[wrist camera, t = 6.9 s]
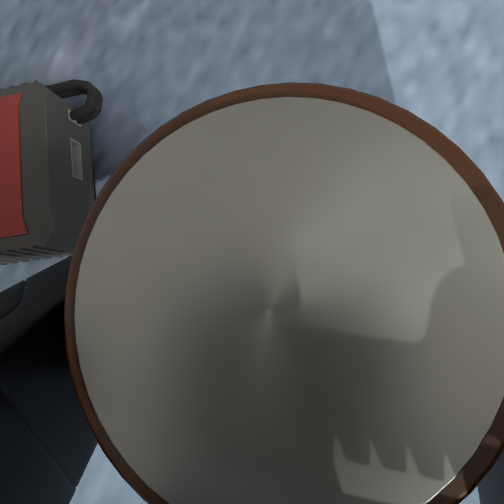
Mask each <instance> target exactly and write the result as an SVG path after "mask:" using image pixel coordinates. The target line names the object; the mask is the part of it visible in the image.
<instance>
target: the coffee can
mask: <svg viewBox="0 0 504 504" xmlns="http://www.w3.org/2000/svg"><path fill="white" fill-rule="evenodd" d="M64 329H65V346H66V352H67V358H68V364H69V370H70V375H71V378H72V381H73V385H74V388H75V392H76V395H77V399H78V402H79V404H80V406H81V409H82V411H83V413H84V416H85V418H86V421H87V423H88V425H89V428H90V429H91V431H92V433H93V435H94V436H95V438H96V440H97V442H98V443H99V445H100V447H101V449H102V450H103V452H104V454H105V455H106V456H107V458H108V459H109V460H110V462H111V463H112V464H113V466H114V467H115V468H116V470H117V471H118V473H119V474H120V475H121V477H122V478H123V479H124V480H125V481H126V482H127V483H128V484H129V485H130V486H131V487H132V488H133V489H134V490H135V491H136V492H137V493H138V494H139V496H140V497H141V498H142V499H143V500H145V501H146V502H147V503H148V504H459V503H460V502H461V501H462V500H463V499H465V498H466V497H467V496H468V495H469V494H470V493H471V492H472V491H473V490H474V489H475V487H476V486H477V485H478V484H479V483H480V481H481V480H482V479H483V478H484V477H485V475H486V474H487V473H488V472H489V471H490V469H491V468H492V467H493V466H494V464H495V462H496V461H497V459H498V457H499V456H500V454H501V453H502V451H503V449H504V203H503V201H502V199H501V198H500V196H499V195H498V194H497V192H496V191H495V189H494V188H493V186H492V185H491V184H490V182H489V181H488V179H487V178H486V176H485V175H484V174H483V172H482V171H481V170H480V169H479V168H478V167H477V166H476V165H475V164H474V163H473V161H472V160H471V159H470V158H469V157H468V156H467V155H466V154H465V153H464V152H463V151H462V150H461V149H460V148H459V147H458V146H457V145H456V144H454V143H453V142H452V141H451V140H450V139H448V138H447V137H446V136H445V135H444V134H442V133H441V132H440V131H439V130H438V129H436V128H435V127H433V126H432V125H430V124H429V123H427V122H425V121H424V120H422V119H421V118H419V117H417V116H416V115H414V114H413V113H411V112H409V111H408V110H405V109H403V108H401V107H399V106H397V105H394V104H392V103H390V102H388V101H386V100H383V99H381V98H379V97H375V96H372V95H369V94H366V93H362V92H359V91H356V90H352V89H348V88H342V87H336V86H331V85H325V84H313V83H281V84H269V85H260V86H256V87H251V88H246V89H241V90H237V91H233V92H230V93H227V94H224V95H221V96H218V97H216V98H213V99H210V100H207V101H205V102H203V103H201V104H199V105H197V106H195V107H193V108H191V109H189V110H187V111H185V112H183V113H181V114H179V115H178V116H176V117H175V118H173V119H172V120H170V121H169V122H167V123H166V124H164V125H162V126H161V127H159V128H158V129H157V130H156V131H155V132H153V133H152V134H151V135H150V136H149V137H147V138H146V139H145V140H144V141H143V142H141V143H140V144H139V145H138V146H137V147H136V148H135V149H134V150H133V151H132V152H131V153H130V154H129V155H128V156H127V157H126V159H125V160H124V161H123V162H122V163H121V164H120V165H119V166H118V168H117V169H116V170H115V172H114V173H113V174H112V176H111V177H110V178H109V180H108V181H107V182H106V184H105V185H104V186H103V188H102V190H101V191H100V193H99V195H98V197H97V198H96V200H95V202H94V203H93V205H92V207H91V209H90V210H89V213H88V215H87V217H86V220H85V222H84V224H83V226H82V229H81V231H80V233H79V236H78V239H77V242H76V246H75V249H74V252H73V256H72V259H71V263H70V268H69V274H68V279H67V284H66V292H65V307H64Z"/></svg>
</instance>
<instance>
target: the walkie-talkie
mask: <svg viewBox="0 0 504 504" xmlns="http://www.w3.org/2000/svg"><path fill="white" fill-rule="evenodd" d="M80 94H86V95H87V100H86V103H85V105H84V106H82V107H80V108H79V109H76V108H75V107H73V106H72V105H70V104H69V103H68V102H66V101H65V100H63V98H67V97H71V96H76V95H80ZM102 102H103V98H102V95H101V93H100V91H99V90H98V89H97V88H95V87H94V86H93V85H92V84H91V83H89V82H88V81H82V80H70V81H66V82H61V83H57V84H53V85H48V86H44V85H42V84H41V83H39V82H38V81H37V80H35V81H34V82H33V83H29V84H27V83H23V84H22V85H21V86H16V87H15V86H10V87H9V88H8V89H4V90H3V89H0V265H7V263H18V262H19V261H22V262H28V261H29V260H40V258H47V259H48V258H51V257H52V256H56V257H62V256H63V255H64V254H65V255H73V252H74V249H75V246H76V242H77V239H78V236H79V233H80V231H81V229H82V226H83V224H84V222H85V220H86V217H87V215H88V213H89V210H90V209H91V207H92V205H93V203H94V202H95V200H94V183H93V167H92V151H91V134H90V121H91V120H93V119H94V118H96V117H97V116H98V115H99V113H100V112H101V107H102Z"/></svg>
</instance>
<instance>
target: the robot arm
mask: <svg viewBox="0 0 504 504" xmlns="http://www.w3.org/2000/svg"><path fill="white" fill-rule="evenodd" d="M72 256H73V255H71V256H69V257H68V258H66V259H64V260H62V261H60V262H58V263H56V264H54V265H52V266H50V267H48V268H46V269H44V270H43V271H41V272H39V273H37V274H35V275H33V276H31V277H29V278H27V279H26V281H21V282H19V283H17V284H16V285H14V286H12V287H10V288H8V289H6V290H4V291H2V292H0V504H69V503H70V501H71V499H72V497H73V495H74V492H75V490H76V488H75V487H77V485H78V483H79V481H80V479H81V477H82V475H83V473H84V471H85V469H86V467H87V464H88V462H89V460H90V458H91V456H92V454H93V452H94V450H95V447H96V445H97V443H98V442H97V440H96V438H95V436H94V435H93V433H92V431H91V429H90V428H89V425H88V423H87V421H86V418H85V416H84V413H83V411H82V409H81V406H80V404H79V402H78V399H77V395H76V392H75V388H74V385H73V381H72V378H71V375H70V370H69V364H68V358H67V352H66V346H65V329H64V307H65V292H66V284H67V279H68V274H69V268H70V263H71V259H72ZM477 487H478V492H479V498H480V504H504V449H503V451H502V453H501V454H500V456H499V457H498V459H497V461H496V462H495V464H494V466H493V467H492V468H491V469H490V471H489V472H488V473H487V474H486V475H485V477H484V478H483V479H482V480H481V481H480V483H479V484H478V485H477Z"/></svg>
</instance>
